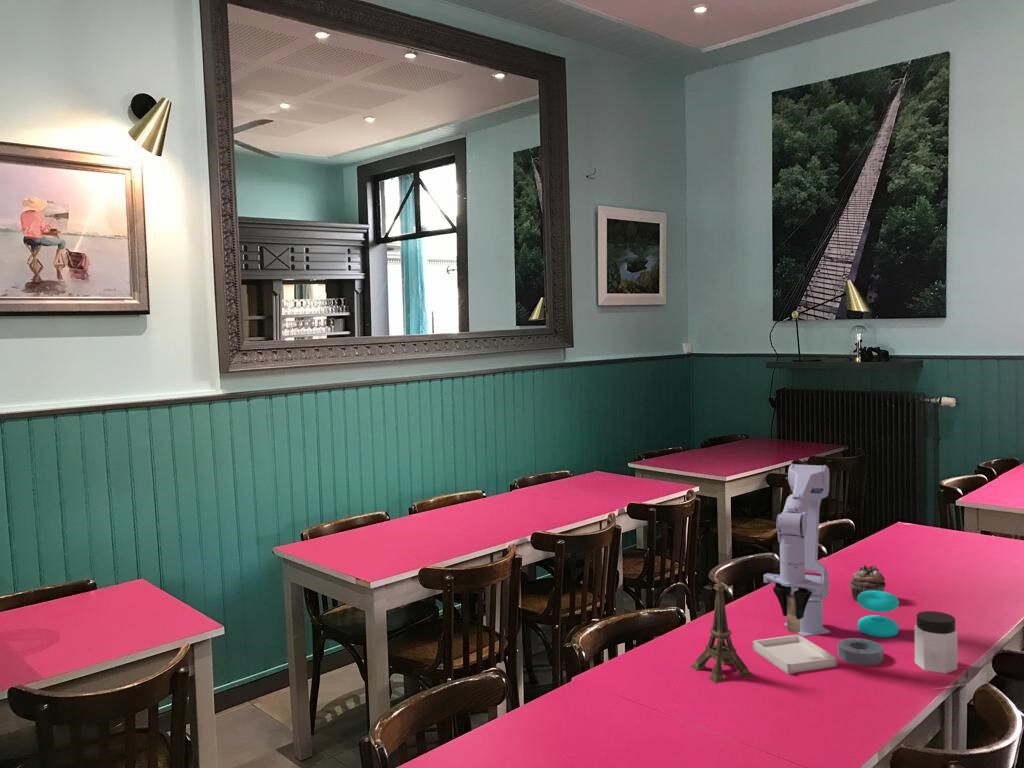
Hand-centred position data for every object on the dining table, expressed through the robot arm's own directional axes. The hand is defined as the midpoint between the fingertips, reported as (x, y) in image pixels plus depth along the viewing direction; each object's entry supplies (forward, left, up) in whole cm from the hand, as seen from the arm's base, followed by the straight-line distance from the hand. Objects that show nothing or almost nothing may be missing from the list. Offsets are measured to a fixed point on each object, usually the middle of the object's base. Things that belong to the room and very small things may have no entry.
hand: (793, 616), depth 203 cm
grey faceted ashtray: (+5, +15, -10) cm, 19 cm away
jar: (+15, +28, -11) cm, 33 cm away
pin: (0, 0, -3) cm, 4 cm away
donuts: (-8, +30, -11) cm, 33 cm away
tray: (0, 0, -10) cm, 10 cm away
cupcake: (-31, +44, -11) cm, 55 cm away
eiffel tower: (+1, -20, -11) cm, 23 cm away
